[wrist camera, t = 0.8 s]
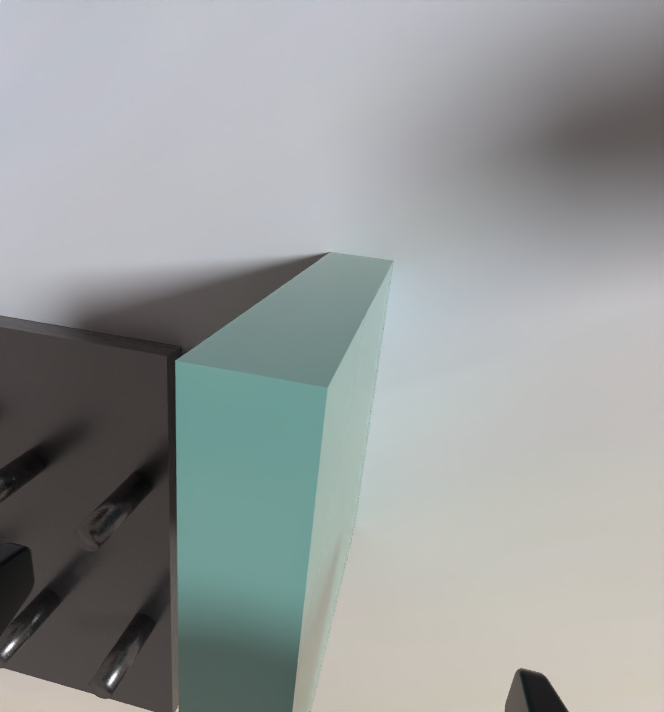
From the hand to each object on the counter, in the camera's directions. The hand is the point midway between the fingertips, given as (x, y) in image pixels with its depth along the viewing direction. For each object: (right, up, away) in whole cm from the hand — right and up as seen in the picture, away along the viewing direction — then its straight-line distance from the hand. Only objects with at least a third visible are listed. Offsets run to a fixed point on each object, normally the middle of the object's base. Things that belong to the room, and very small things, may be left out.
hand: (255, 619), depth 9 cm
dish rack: (-13, -2, +13) cm, 18 cm away
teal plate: (+2, +3, +8) cm, 9 cm away
